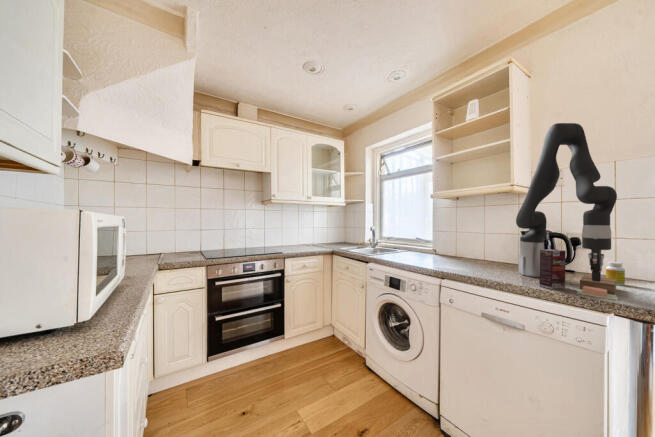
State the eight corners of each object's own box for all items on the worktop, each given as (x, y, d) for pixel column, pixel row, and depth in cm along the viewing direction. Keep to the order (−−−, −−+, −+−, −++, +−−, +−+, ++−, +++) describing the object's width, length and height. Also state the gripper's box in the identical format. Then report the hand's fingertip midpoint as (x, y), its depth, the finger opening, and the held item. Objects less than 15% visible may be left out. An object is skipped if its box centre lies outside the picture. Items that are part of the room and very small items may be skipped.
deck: (584, 284, 105) (584, 275, 105) (615, 289, 98) (615, 279, 98) (579, 289, 96) (579, 280, 96) (614, 295, 89) (614, 284, 89)
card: (582, 287, 91) (582, 293, 91) (606, 291, 86) (606, 297, 86) (583, 285, 94) (583, 290, 94) (607, 289, 89) (607, 294, 89)
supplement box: (552, 289, 97) (552, 251, 97) (538, 286, 101) (538, 249, 101) (566, 288, 99) (566, 250, 99) (552, 284, 104) (552, 248, 104)
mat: (577, 293, 91) (577, 292, 91) (577, 290, 96) (577, 289, 96) (617, 300, 84) (617, 299, 84) (615, 295, 89) (615, 295, 89)
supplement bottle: (619, 286, 103) (619, 263, 103) (602, 282, 108) (602, 261, 108) (628, 285, 104) (628, 263, 104) (611, 282, 109) (611, 261, 109)
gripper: (584, 235, 99) (584, 276, 99) (580, 236, 91) (579, 281, 91) (612, 236, 93) (612, 280, 93) (610, 238, 85) (610, 286, 85)
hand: (596, 281), depth 92 cm, fingers closed
